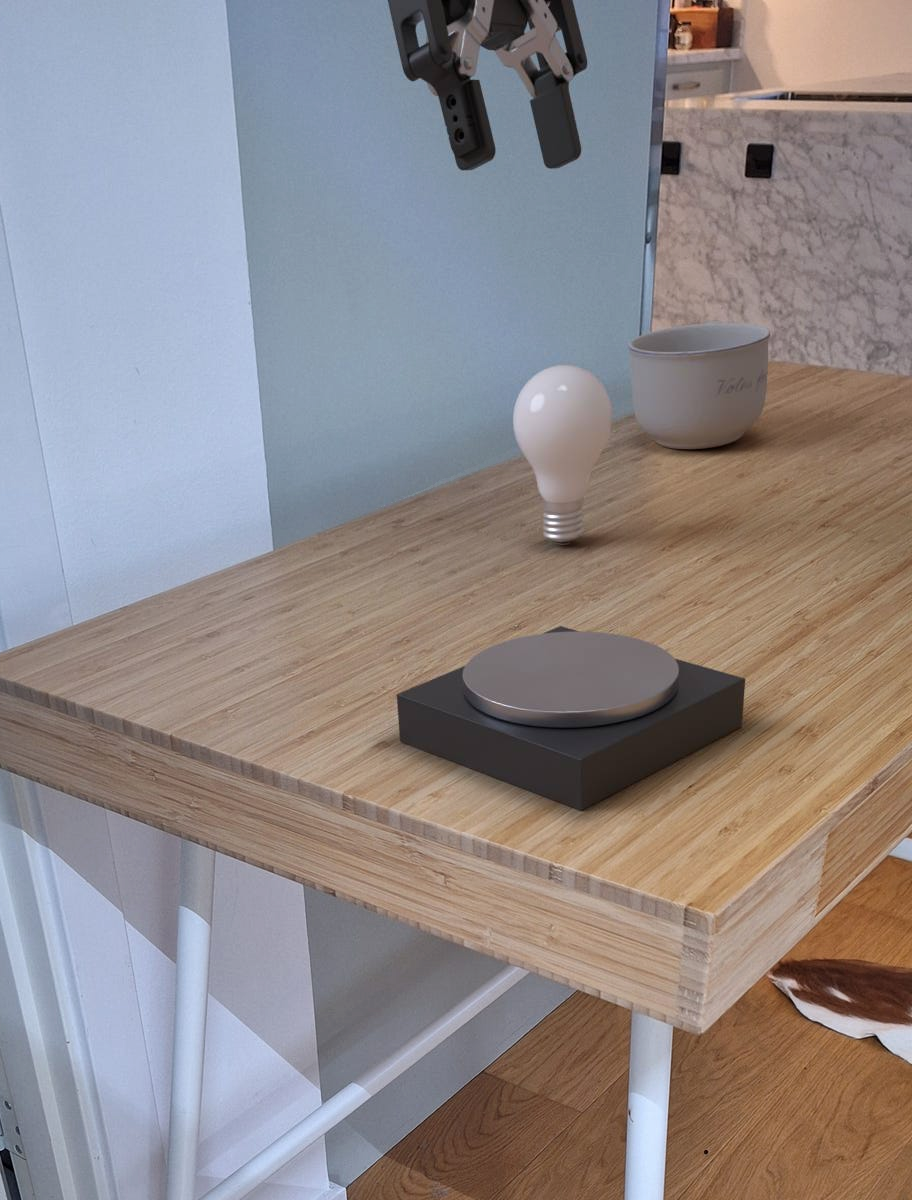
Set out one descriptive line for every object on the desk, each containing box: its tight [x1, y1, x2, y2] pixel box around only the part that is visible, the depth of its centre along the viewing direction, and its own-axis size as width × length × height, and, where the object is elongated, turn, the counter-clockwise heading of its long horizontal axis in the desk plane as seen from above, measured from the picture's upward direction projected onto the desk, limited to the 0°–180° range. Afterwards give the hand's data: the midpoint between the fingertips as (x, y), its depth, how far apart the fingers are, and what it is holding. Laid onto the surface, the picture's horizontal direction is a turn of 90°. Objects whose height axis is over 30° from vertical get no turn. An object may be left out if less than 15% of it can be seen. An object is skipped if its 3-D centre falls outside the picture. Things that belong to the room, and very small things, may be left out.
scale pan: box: [463, 631, 679, 728], centre depth 71 cm, size 10×10×1 cm
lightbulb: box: [512, 364, 614, 546], centre depth 95 cm, size 6×6×11 cm
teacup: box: [627, 320, 771, 450], centre depth 117 cm, size 14×11×8 cm
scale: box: [396, 625, 746, 811], centre depth 72 cm, size 12×12×2 cm
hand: (523, 164), depth 82 cm, fingers open, 8 cm apart
